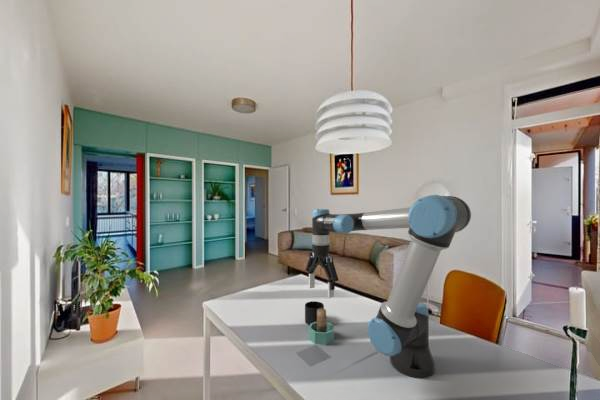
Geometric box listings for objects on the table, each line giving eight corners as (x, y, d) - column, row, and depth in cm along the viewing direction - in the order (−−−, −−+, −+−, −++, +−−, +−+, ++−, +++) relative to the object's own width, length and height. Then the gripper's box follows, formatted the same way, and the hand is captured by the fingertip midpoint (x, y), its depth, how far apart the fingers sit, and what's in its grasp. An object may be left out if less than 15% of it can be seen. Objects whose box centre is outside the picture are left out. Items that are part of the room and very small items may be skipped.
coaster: (331, 359, 97) (331, 356, 97) (310, 368, 92) (310, 366, 92) (315, 346, 106) (315, 344, 106) (295, 354, 100) (295, 352, 100)
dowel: (328, 338, 111) (327, 310, 111) (320, 341, 108) (320, 313, 108) (322, 334, 114) (322, 307, 114) (315, 337, 112) (315, 309, 112)
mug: (320, 331, 118) (320, 311, 118) (301, 323, 126) (301, 305, 126) (331, 324, 125) (331, 305, 126) (312, 317, 133) (312, 299, 133)
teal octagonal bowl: (338, 341, 110) (338, 328, 110) (319, 349, 104) (319, 335, 104) (323, 331, 118) (323, 319, 118) (304, 337, 113) (304, 325, 113)
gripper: (347, 247, 103) (347, 299, 103) (311, 239, 124) (311, 283, 124) (333, 249, 99) (333, 303, 99) (298, 241, 120) (298, 285, 120)
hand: (320, 292), depth 112 cm, fingers open, 13 cm apart
